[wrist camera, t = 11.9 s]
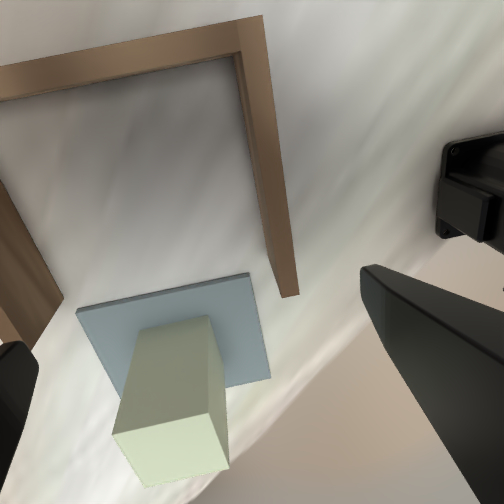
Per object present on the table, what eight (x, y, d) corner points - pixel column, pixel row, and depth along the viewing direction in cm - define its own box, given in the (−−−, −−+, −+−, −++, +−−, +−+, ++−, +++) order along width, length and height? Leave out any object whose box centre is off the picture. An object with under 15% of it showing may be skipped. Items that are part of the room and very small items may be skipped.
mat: (248, 272, 24) (249, 276, 23) (270, 373, 29) (271, 378, 28) (77, 308, 24) (75, 313, 23) (127, 404, 28) (126, 409, 28)
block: (208, 315, 25) (208, 412, 18) (223, 364, 27) (229, 468, 20) (139, 330, 24) (111, 434, 17) (160, 379, 27) (144, 488, 20)
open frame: (248, 29, 17) (262, 14, 13) (282, 252, 23) (299, 294, 19) (-70, 91, 17) (-166, 98, 13) (49, 301, 23) (12, 355, 19)
